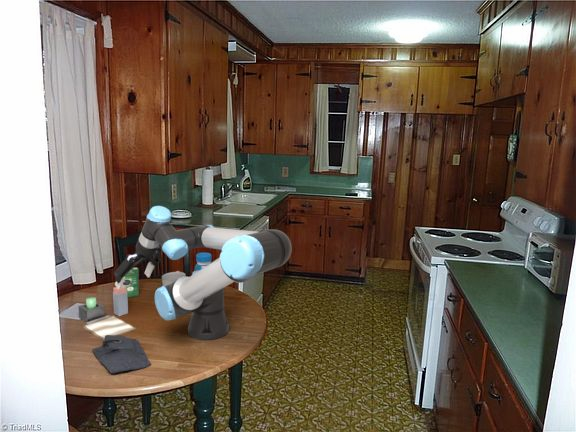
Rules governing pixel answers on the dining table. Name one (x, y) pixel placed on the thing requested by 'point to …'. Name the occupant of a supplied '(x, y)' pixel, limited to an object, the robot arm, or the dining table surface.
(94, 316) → the switch box
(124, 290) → the pink-tipped grey block
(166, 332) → the dining table surface
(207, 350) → the dining table surface
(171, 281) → the teacup
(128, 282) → the coffee box
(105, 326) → the cream flat rectangular panel
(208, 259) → the beverage bottle
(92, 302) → the button
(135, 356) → the dark grey folded cloth
